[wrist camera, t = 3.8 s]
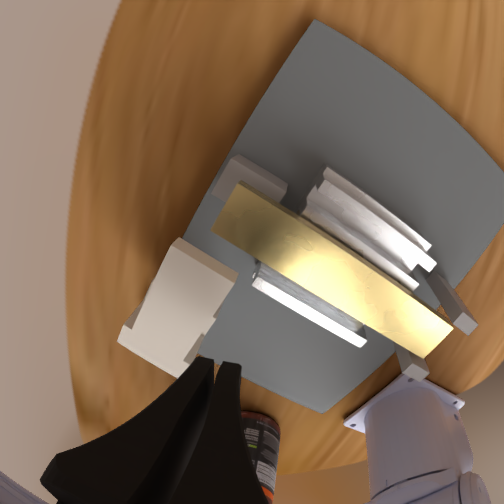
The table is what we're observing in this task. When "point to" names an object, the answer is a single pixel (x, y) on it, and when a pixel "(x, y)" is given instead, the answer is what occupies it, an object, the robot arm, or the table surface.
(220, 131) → the table surface
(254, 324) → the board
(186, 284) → the white l-shaped block
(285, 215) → the strap
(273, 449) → the supplement bottle
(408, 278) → the heatsink
